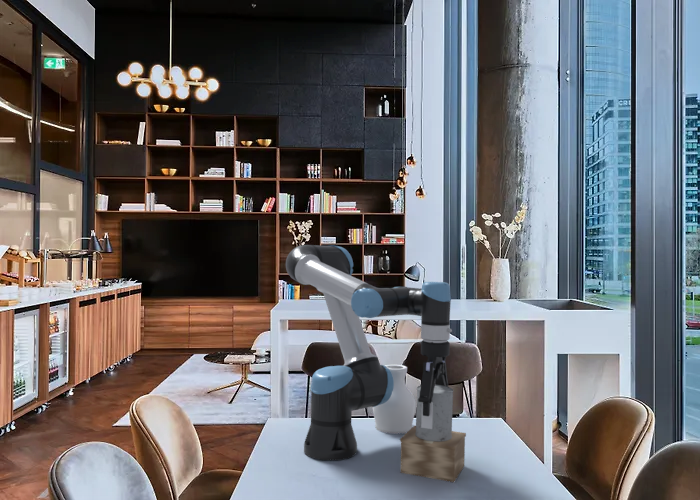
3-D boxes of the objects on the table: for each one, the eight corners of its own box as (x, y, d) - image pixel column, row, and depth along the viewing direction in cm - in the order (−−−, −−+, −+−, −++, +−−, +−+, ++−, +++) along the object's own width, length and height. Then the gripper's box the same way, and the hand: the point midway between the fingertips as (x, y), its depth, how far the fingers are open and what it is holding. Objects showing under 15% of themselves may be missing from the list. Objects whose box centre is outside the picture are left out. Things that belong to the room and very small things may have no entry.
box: (400, 472, 144) (401, 441, 144) (414, 457, 155) (414, 428, 155) (454, 482, 138) (454, 450, 138) (464, 466, 149) (464, 436, 149)
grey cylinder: (451, 443, 141) (452, 394, 141) (413, 439, 143) (415, 391, 143) (452, 431, 150) (453, 386, 150) (416, 428, 152) (418, 383, 152)
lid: (400, 441, 144) (400, 438, 144) (414, 428, 155) (414, 425, 155) (455, 450, 138) (455, 446, 138) (465, 436, 150) (465, 432, 150)
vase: (424, 428, 182) (425, 367, 182) (397, 438, 172) (398, 373, 172) (390, 418, 192) (391, 360, 192) (362, 427, 181) (364, 366, 182)
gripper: (437, 348, 134) (435, 436, 134) (459, 335, 157) (458, 411, 157) (407, 345, 137) (405, 432, 137) (433, 333, 160) (432, 407, 160)
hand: (433, 421), depth 147 cm, fingers open, 13 cm apart
